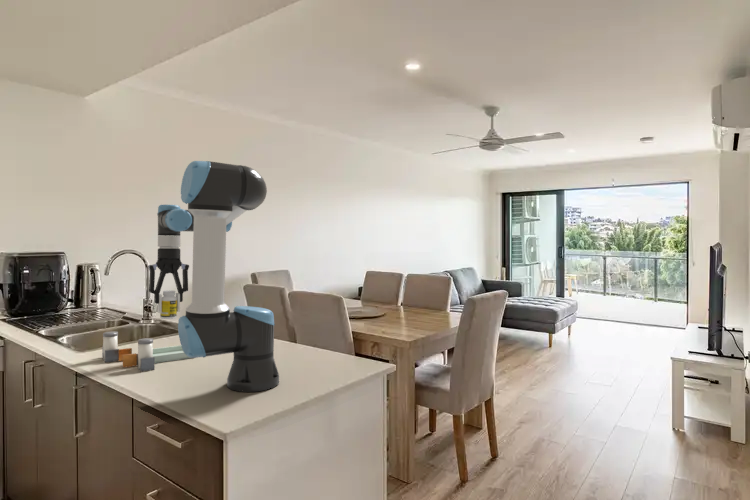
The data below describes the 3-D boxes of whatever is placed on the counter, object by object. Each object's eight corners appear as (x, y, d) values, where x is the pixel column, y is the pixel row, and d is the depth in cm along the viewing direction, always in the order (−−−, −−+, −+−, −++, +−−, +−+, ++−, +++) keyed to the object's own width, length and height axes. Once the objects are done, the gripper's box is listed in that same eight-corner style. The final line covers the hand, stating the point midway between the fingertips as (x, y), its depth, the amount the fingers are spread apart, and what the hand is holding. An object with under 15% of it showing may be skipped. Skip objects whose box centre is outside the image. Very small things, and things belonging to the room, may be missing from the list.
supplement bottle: (170, 319, 161) (170, 292, 161) (157, 318, 163) (157, 291, 162) (179, 317, 167) (180, 290, 167) (166, 316, 168) (167, 289, 168)
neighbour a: (154, 368, 151) (154, 340, 151) (139, 370, 148) (139, 341, 148) (151, 365, 155) (151, 337, 155) (136, 367, 152) (136, 339, 152)
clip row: (154, 369, 150) (154, 357, 150) (112, 375, 142) (112, 362, 142) (139, 352, 170) (139, 342, 170) (102, 357, 163) (102, 346, 163)
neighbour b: (118, 359, 161) (118, 333, 160) (103, 361, 158) (103, 334, 158) (116, 356, 164) (116, 330, 164) (102, 358, 162) (102, 332, 161)
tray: (197, 357, 166) (197, 350, 166) (149, 363, 156) (149, 356, 156) (188, 350, 175) (188, 344, 175) (142, 356, 166) (142, 349, 166)
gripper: (192, 247, 173) (192, 308, 173) (138, 247, 161) (138, 312, 162) (198, 248, 167) (198, 311, 167) (143, 247, 156) (142, 315, 156)
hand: (168, 311), depth 165 cm, fingers closed on supplement bottle, 5 cm apart
